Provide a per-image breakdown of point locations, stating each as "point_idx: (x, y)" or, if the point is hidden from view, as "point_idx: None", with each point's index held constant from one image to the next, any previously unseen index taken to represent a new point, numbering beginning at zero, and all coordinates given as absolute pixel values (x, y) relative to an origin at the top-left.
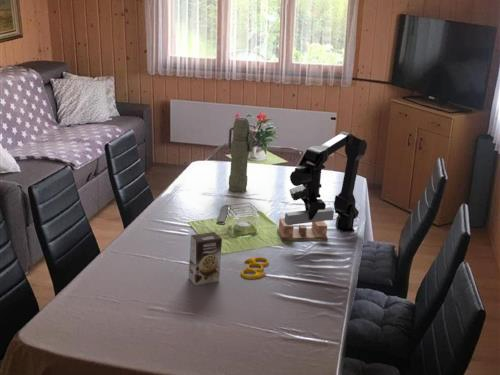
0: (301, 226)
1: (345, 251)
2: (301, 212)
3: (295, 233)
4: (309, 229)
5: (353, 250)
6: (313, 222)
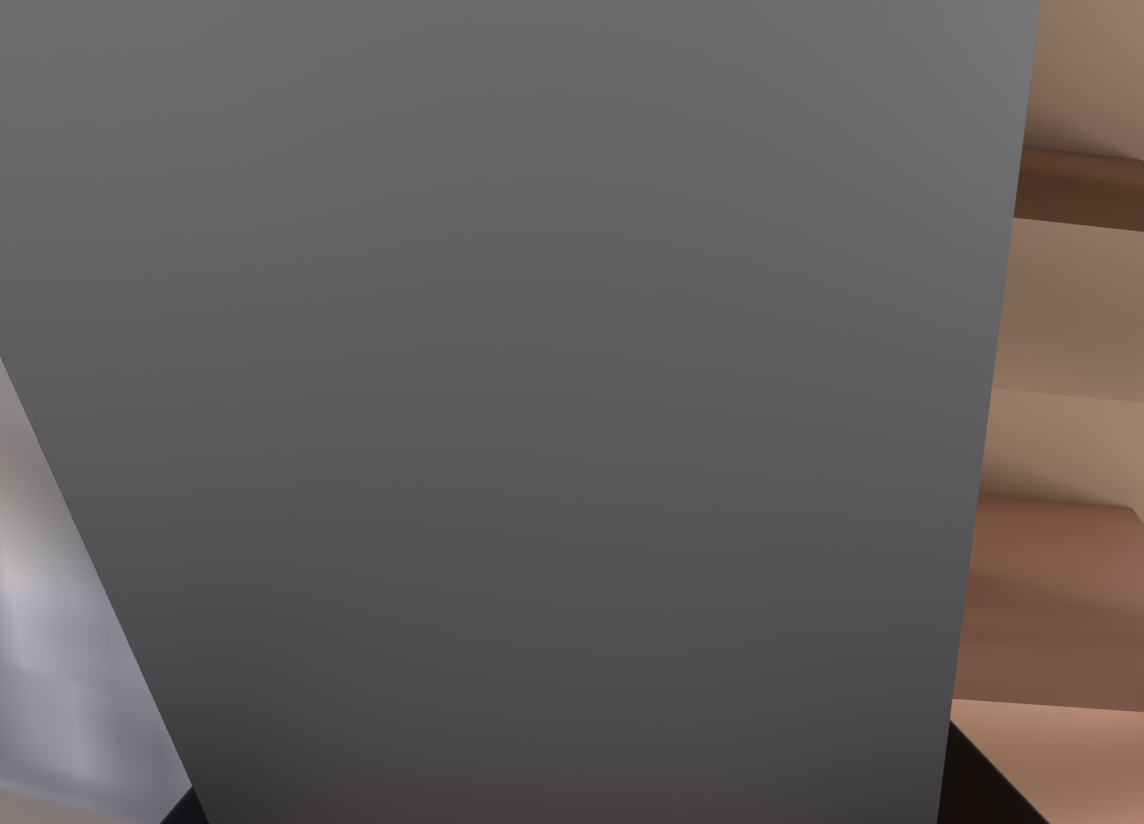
0: (1120, 280)
1: (108, 712)
2: (528, 552)
3: (1054, 19)
4: (1124, 459)
5: (159, 816)
6: (1132, 652)
